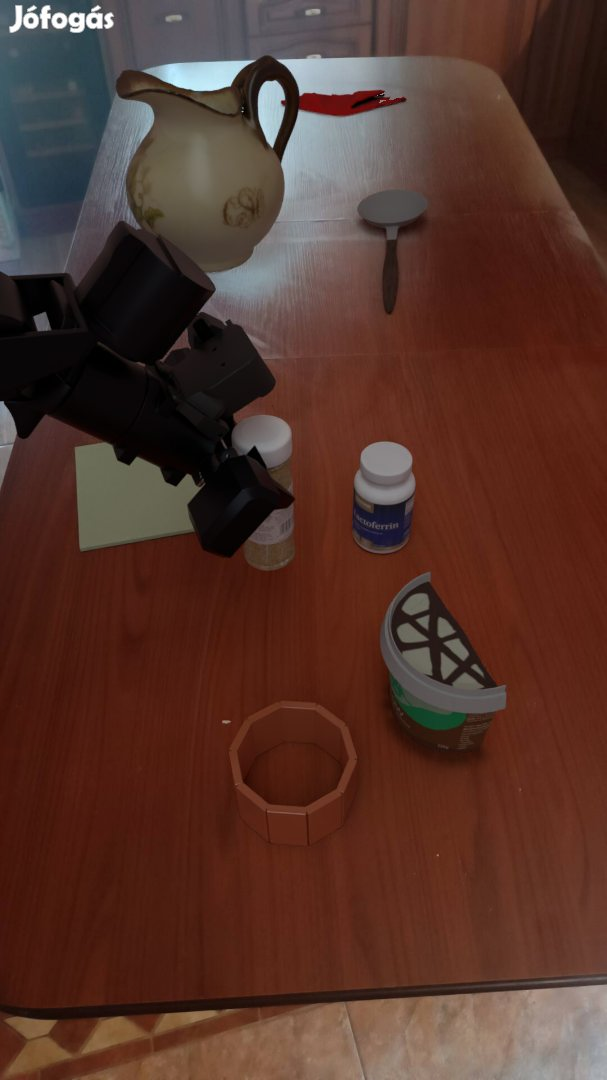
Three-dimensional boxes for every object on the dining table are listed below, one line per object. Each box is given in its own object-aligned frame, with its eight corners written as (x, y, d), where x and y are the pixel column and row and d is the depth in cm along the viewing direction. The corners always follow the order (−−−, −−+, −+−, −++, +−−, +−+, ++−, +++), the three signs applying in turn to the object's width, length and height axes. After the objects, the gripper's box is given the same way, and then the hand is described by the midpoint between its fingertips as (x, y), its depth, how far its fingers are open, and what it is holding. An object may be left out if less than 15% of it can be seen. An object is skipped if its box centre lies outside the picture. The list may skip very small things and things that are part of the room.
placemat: (80, 551, 78) (79, 548, 78) (75, 450, 89) (74, 446, 89) (242, 523, 80) (241, 519, 80) (218, 427, 91) (217, 424, 91)
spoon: (427, 205, 129) (427, 187, 127) (430, 320, 107) (430, 301, 105) (360, 210, 131) (358, 192, 129) (349, 324, 109) (347, 305, 107)
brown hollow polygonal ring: (248, 860, 57) (242, 829, 53) (227, 747, 63) (221, 712, 59) (367, 831, 58) (370, 799, 54) (336, 723, 64) (336, 688, 60)
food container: (352, 665, 68) (354, 588, 61) (417, 644, 69) (427, 566, 62) (416, 792, 60) (428, 721, 53) (489, 765, 61) (510, 691, 54)
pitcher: (112, 279, 116) (73, 89, 98) (177, 211, 132) (153, 36, 114) (257, 299, 111) (244, 103, 93) (307, 226, 127) (304, 46, 109)
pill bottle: (344, 548, 77) (346, 470, 70) (360, 509, 81) (363, 432, 74) (402, 561, 76) (410, 483, 69) (416, 521, 80) (424, 443, 73)
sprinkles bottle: (270, 528, 72) (262, 404, 62) (306, 553, 69) (304, 429, 60) (232, 554, 69) (218, 431, 60) (268, 582, 67) (260, 458, 58)
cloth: (272, 114, 162) (272, 102, 161) (286, 92, 172) (286, 81, 170) (401, 120, 159) (401, 107, 157) (407, 97, 168) (408, 85, 166)
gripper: (239, 388, 45) (401, 485, 56) (158, 247, 57) (304, 349, 68) (125, 525, 49) (298, 591, 59) (72, 365, 61) (223, 444, 71)
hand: (281, 484), depth 64 cm, fingers closed on sprinkles bottle, 4 cm apart
